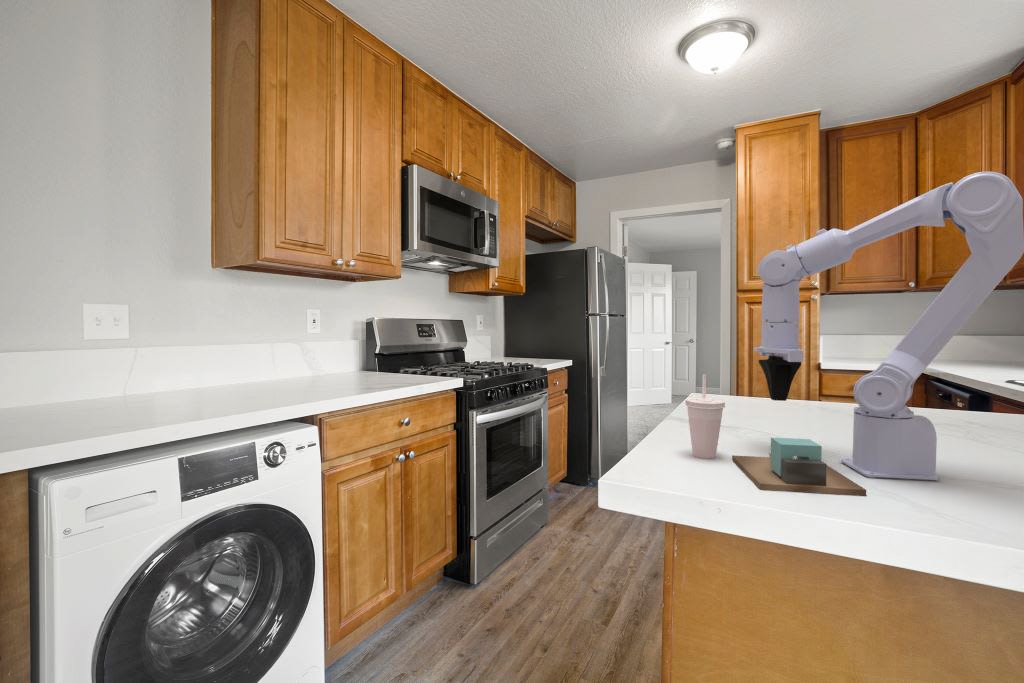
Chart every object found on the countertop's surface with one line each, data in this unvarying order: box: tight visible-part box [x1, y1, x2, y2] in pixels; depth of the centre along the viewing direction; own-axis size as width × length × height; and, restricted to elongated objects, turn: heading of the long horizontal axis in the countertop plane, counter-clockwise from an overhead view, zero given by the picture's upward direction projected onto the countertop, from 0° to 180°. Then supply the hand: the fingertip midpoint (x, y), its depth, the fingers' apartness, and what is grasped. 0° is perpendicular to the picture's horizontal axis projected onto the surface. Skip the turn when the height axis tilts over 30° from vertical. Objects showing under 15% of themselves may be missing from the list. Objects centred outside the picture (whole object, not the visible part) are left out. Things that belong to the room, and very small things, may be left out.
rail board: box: [731, 452, 867, 497], centre depth 70 cm, size 13×14×4 cm
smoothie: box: [684, 374, 726, 460], centre depth 80 cm, size 6×6×14 cm
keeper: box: [770, 437, 823, 477], centre depth 67 cm, size 5×4×5 cm
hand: (778, 400), depth 82 cm, fingers closed
